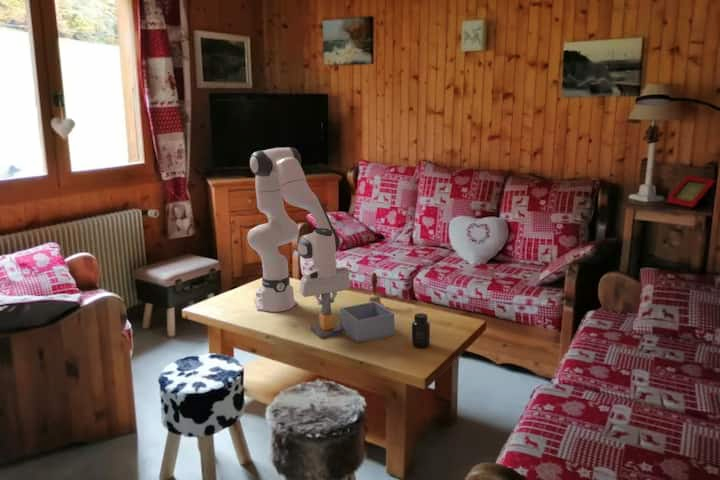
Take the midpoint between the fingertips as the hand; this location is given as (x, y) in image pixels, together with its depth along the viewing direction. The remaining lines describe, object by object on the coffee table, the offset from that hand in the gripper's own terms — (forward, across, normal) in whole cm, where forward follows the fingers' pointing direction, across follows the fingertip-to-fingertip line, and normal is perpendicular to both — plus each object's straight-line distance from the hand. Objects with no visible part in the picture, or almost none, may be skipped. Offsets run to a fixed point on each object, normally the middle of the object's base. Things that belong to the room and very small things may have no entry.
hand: (326, 303), depth 233 cm
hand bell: (+12, -30, -16) cm, 36 cm away
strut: (+10, 0, 0) cm, 10 cm away
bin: (+12, -14, +8) cm, 20 cm away
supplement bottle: (+12, -26, +29) cm, 41 cm away
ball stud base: (+12, 0, 0) cm, 12 cm away
